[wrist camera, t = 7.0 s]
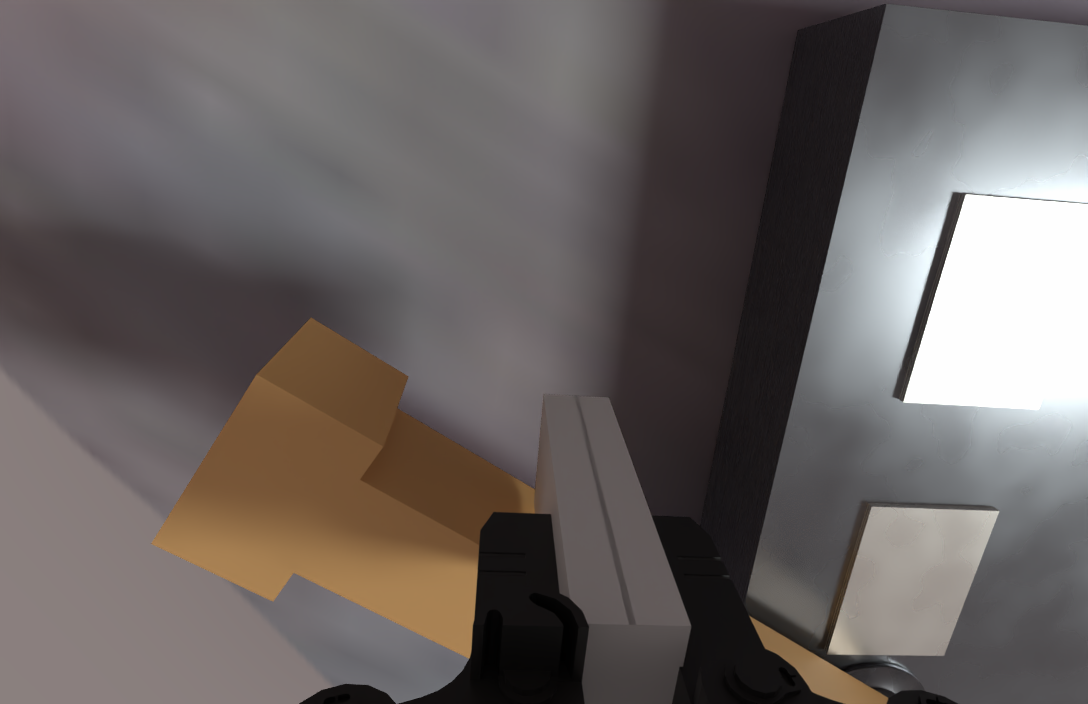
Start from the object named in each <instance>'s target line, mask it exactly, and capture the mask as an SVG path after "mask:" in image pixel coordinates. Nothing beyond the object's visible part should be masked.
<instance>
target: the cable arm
mask: <svg viewBox="0 0 1088 704" xmlns="http://www.w3.org/2000/svg"><path fill="white" fill-rule="evenodd" d="M407 379H408V376H407V375H405V374H403V373H402V372H400V371H398V370H397V369H395V368H393V367H392V366H390V365H388V364H387V363H385V362H384V361H382V360H380V359H379V358H377V357H375V356H374V355H372V354H370V353H369V352H367V351H365V350H364V349H362V348H360V347H359V346H357V345H356V344H354V343H352V342H351V341H349V340H347V339H346V338H344V337H342V336H341V335H339V334H337V333H336V332H334V331H332V330H331V329H329V328H328V327H326V326H324V325H323V324H321V323H319V322H318V321H316V320H314V319H313V318H310V319H309V320H308V321H307V322H306V323H305V324H304V325H303V326H302V328H301V329H300V330H299V331H298V332H297V333H296V334H295V335H294V336H293V337H292V338H291V339H290V340H289V341H288V342H287V343H286V344H285V345H284V346H283V347H282V348H281V349H280V350H279V352H278V353H277V354H276V355H275V356H274V357H273V358H272V359H271V360H270V361H269V362H268V363H267V364H266V365H265V366H264V367H263V368H262V369H261V370H260V371H259V372H258V373H257V374H256V376H255V378H254V379H253V381H252V383H251V384H250V386H249V387H248V389H247V391H246V392H245V394H244V395H243V397H242V399H241V400H240V402H239V403H238V405H237V407H236V408H235V410H234V411H233V413H232V415H231V416H230V418H229V420H228V421H227V423H226V424H225V426H224V428H223V429H222V431H221V432H220V434H219V436H218V437H217V439H216V440H215V442H214V444H213V445H212V447H211V448H210V450H209V452H208V453H207V455H206V456H205V458H204V460H203V461H202V463H201V465H200V466H199V468H198V469H197V471H196V473H195V474H194V476H193V477H192V479H191V481H190V482H189V484H188V485H187V487H186V489H185V490H184V492H183V493H182V495H181V497H180V498H179V500H178V502H177V503H176V505H175V506H174V508H173V510H172V511H171V513H170V514H169V516H168V518H167V519H166V521H165V522H164V524H163V526H162V527H161V529H160V530H159V532H158V534H157V535H156V537H155V538H154V540H153V542H152V544H153V545H155V546H157V547H159V548H161V549H163V550H165V551H167V552H170V553H172V554H174V555H176V556H178V557H180V558H182V559H184V560H186V561H188V562H191V563H193V564H195V565H197V566H199V567H201V568H203V569H205V570H208V571H210V572H212V573H214V574H216V575H218V576H220V577H222V578H224V579H226V580H229V581H231V582H233V583H235V584H237V585H239V586H241V587H243V588H245V589H248V590H250V591H252V592H254V593H256V594H258V595H260V596H262V597H265V598H267V599H269V600H271V601H274V599H275V598H276V597H277V595H278V594H279V592H280V591H281V590H282V588H283V587H284V585H285V584H286V583H287V581H288V580H289V578H290V577H291V576H292V574H293V573H295V574H298V575H300V576H302V577H304V578H306V579H308V580H310V581H312V582H314V583H316V584H318V585H320V586H322V587H324V588H326V589H328V590H330V591H332V592H334V593H336V594H338V595H340V596H342V597H344V598H346V599H349V600H351V601H353V602H355V603H357V604H359V605H361V606H363V607H365V608H367V609H369V610H371V611H373V612H375V613H377V614H379V615H381V616H383V617H385V618H387V619H389V620H391V621H393V622H395V623H397V624H400V625H402V626H404V627H406V628H408V629H410V630H412V631H414V632H416V633H418V634H420V635H422V636H424V637H426V638H428V639H430V640H432V641H434V642H436V643H438V644H440V645H442V646H444V647H446V648H448V649H451V650H453V651H455V652H457V653H459V654H461V655H463V656H465V657H467V658H470V655H471V650H472V631H473V623H474V617H475V602H476V587H477V572H478V556H479V541H480V530H481V528H482V527H483V526H484V524H485V523H486V522H487V520H488V519H489V517H490V516H491V515H492V513H493V512H509V513H535V510H534V496H535V489H533V488H532V487H530V486H528V485H526V484H525V483H523V482H521V481H520V480H518V479H516V478H515V477H513V476H511V475H509V474H508V473H506V472H504V471H503V470H501V469H499V468H498V467H496V466H494V465H493V464H491V463H489V462H487V461H486V460H484V459H482V458H481V457H479V456H477V455H476V454H474V453H472V452H470V451H469V450H467V449H465V448H464V447H462V446H460V445H459V444H457V443H455V442H454V441H452V440H450V439H448V438H447V437H445V436H443V435H442V434H440V433H438V432H437V431H435V430H433V429H431V428H430V427H428V426H426V425H425V424H423V423H421V422H420V421H418V420H416V419H414V418H413V417H411V416H409V415H408V414H406V413H404V412H403V411H401V410H399V409H398V408H397V407H398V404H399V402H400V399H401V396H402V393H403V390H404V388H405V385H406V382H407ZM749 617H750V616H749ZM750 619H751V621H752V623H753V625H754V627H755V629H756V631H757V633H758V635H759V637H760V639H761V641H762V643H763V645H764V647H765V649H767V650H769V651H772V652H774V653H776V654H778V655H779V656H780V657H782V658H783V659H784V660H786V661H787V662H788V663H789V664H791V665H792V666H793V667H795V668H796V670H797V671H798V672H799V674H800V675H801V676H802V678H803V679H804V680H805V682H806V683H807V684H808V686H809V688H810V690H811V691H812V692H813V693H815V694H818V695H820V696H823V697H826V698H828V699H831V700H834V701H837V702H841V703H844V704H887V701H888V698H889V697H891V696H893V695H895V694H896V693H894V692H891V691H888V690H882V689H872V688H871V687H869V686H867V685H866V684H864V683H862V682H861V681H859V680H857V679H855V678H854V677H852V676H850V675H849V674H847V673H845V672H844V671H842V670H840V669H839V668H837V667H835V666H833V665H832V664H830V663H828V662H827V661H825V660H823V659H822V658H820V657H818V656H816V655H815V654H813V653H811V652H810V651H808V650H806V649H805V648H803V647H801V646H800V645H798V644H796V643H794V642H793V641H791V640H789V639H788V638H786V637H784V636H783V635H781V634H779V633H777V632H776V631H774V630H772V629H771V628H769V627H767V626H766V625H764V624H762V623H761V622H759V621H757V620H755V619H754V618H752V617H750Z"/></svg>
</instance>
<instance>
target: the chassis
mask: <svg viewBox="0 0 1088 704" xmlns="http://www.w3.org/2000/svg"><path fill="white" fill-rule="evenodd" d="M700 527H701V528H702V529H703V530H705V531H706V532H707V533H708V534H709V535H710V536H711V538H712V540H713V542H714V544H715V546H716V548H717V550H718V553H719V555H720V557H721V562H723V563H724V565H725V567H726V569H727V571H728V573H729V575H730V576H729V578H730V580H732V581H733V583H734V586H735V588H736V590H737V592H738V594H739V596H740V598H741V600H742V602H743V604H744V606H745V608H746V610H747V612H748V614H749V616H750V617H752V618H754V619H755V620H757V621H759V622H761V623H762V624H764V625H766V626H767V627H769V628H771V629H772V630H774V631H776V632H777V633H779V634H781V635H783V636H784V637H786V638H788V639H789V640H791V641H793V642H794V643H796V644H798V645H800V646H801V647H803V648H805V649H806V650H808V651H810V652H811V653H813V654H815V655H816V656H818V657H820V658H822V659H823V660H825V661H827V662H828V663H830V664H832V665H833V666H835V667H837V668H839V669H840V670H842V671H844V672H845V673H847V674H849V675H850V676H852V677H854V678H855V679H857V680H859V681H861V682H862V683H864V684H866V685H867V686H869V687H871V688H872V689H882V690H888V691H891V692H894V693H898V692H900V691H902V690H923V691H926V692H930V693H934V694H937V695H941V696H944V697H946V698H948V699H950V700H952V701H954V702H956V703H958V704H1088V26H1086V25H1077V24H1067V23H1058V22H1049V21H1040V20H1031V19H1022V18H1013V17H1004V16H995V15H985V14H976V13H967V12H958V11H949V10H940V9H931V8H922V7H913V6H903V5H894V4H884V5H881V6H877V7H874V8H871V9H867V10H864V11H861V12H857V13H854V14H851V15H847V16H844V17H841V18H837V19H834V20H831V21H827V22H824V23H821V24H818V25H814V26H811V27H808V28H804V29H801V30H798V33H797V38H796V43H795V48H794V53H793V58H792V63H791V68H790V74H789V79H788V84H787V89H786V94H785V99H784V104H783V109H782V114H781V119H780V124H779V129H778V134H777V140H776V145H775V150H774V155H773V160H772V165H771V170H770V175H769V180H768V185H767V190H766V195H765V200H764V206H763V211H762V216H761V221H760V226H759V231H758V236H757V241H756V246H755V251H754V256H753V261H752V266H751V272H750V277H749V282H748V287H747V292H746V297H745V302H744V307H743V312H742V317H741V322H740V327H739V332H738V338H737V343H736V348H735V353H734V358H733V363H732V368H731V373H730V378H729V383H728V388H727V393H726V398H725V404H724V409H723V414H722V419H721V424H720V429H719V434H718V439H717V444H716V449H715V454H714V459H713V464H712V470H711V475H710V480H709V485H708V490H707V495H706V500H705V505H704V510H703V515H702V520H701V525H700Z"/></svg>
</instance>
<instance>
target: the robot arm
mask: <svg viewBox="0 0 1088 704" xmlns="http://www.w3.org/2000/svg"><path fill="white" fill-rule="evenodd" d="M534 510H535V513H509V512H493V513H492V515H491V516H490V517H489V519H488V520H487V522H486V523H485V524H484V526H483V527H482V528H481V530H480V541H479V556H478V572H477V587H476V602H475V617H474V623H473V631H472V650H471V655H470V658H469V660H468V662H467V664H466V666H465V667H464V669H463V671H462V672H461V673H460V674H459V675H458V676H457V677H456V678H455V679H454V680H453V681H452V682H451V683H449V684H448V685H446V686H445V687H443V688H442V689H440V690H438V691H436V692H434V693H431V694H428V695H426V696H423V697H421V698H417V699H413V700H410V701H406V702H403V703H399V704H844V703H841V702H837V701H834V700H831V699H828V698H826V697H823V696H820V695H818V694H815V693H813V692H812V691H811V690H810V688H809V686H808V684H807V683H806V682H805V680H804V679H803V678H802V676H801V675H800V674H799V672H798V671H797V670H796V668H795V667H793V666H792V665H791V664H789V663H788V662H787V661H786V660H784V659H783V658H782V657H780V656H779V655H778V654H776V653H774V652H772V651H769V650H767V649H765V647H764V645H763V643H762V641H761V639H760V637H759V635H758V633H757V631H756V629H755V627H754V625H753V623H752V621H751V619H750V617H749V614H748V612H747V610H746V608H745V606H744V604H743V602H742V600H741V598H740V596H739V594H738V592H737V590H736V588H735V586H734V583H733V581H732V580H730V578H729V576H730V575H729V573H728V571H727V569H726V567H725V565H724V563H723V562H721V557H720V555H719V553H718V550H717V548H716V546H715V544H714V542H713V540H712V538H711V536H710V535H709V534H708V533H707V532H706V531H705V530H703V529H702V528H701V527H700V526H699V525H698V524H697V523H696V522H695V521H694V520H693V519H692V518H690V517H672V516H651V513H650V510H649V508H648V505H647V502H646V499H645V496H644V494H643V491H642V488H641V485H640V483H639V480H638V477H637V474H636V472H635V469H634V466H633V463H632V460H631V458H630V455H629V452H628V449H627V447H626V444H625V441H624V438H623V436H622V433H621V430H620V427H619V424H618V422H617V419H616V416H615V413H614V411H613V408H612V405H611V402H610V400H609V397H590V396H571V395H552V394H544V395H543V406H542V417H541V428H540V440H539V451H538V462H537V473H536V485H535V496H534ZM299 704H396V703H395V702H394V701H393V700H392V699H391V698H390V696H389V695H388V694H387V693H385V692H382V691H380V690H378V689H376V688H373V687H371V686H369V685H355V684H343V685H340V686H336V687H332V688H328V689H324V690H321V691H320V692H318V693H316V694H315V695H313V696H311V697H310V698H308V699H306V700H304V701H303V702H301V703H299ZM887 704H958V703H956V702H954V701H952V700H950V699H948V698H946V697H944V696H941V695H937V694H934V693H930V692H926V691H923V690H902V691H900V692H898V693H896V694H895V695H893V696H891V697H889V698H888V701H887Z"/></svg>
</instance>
